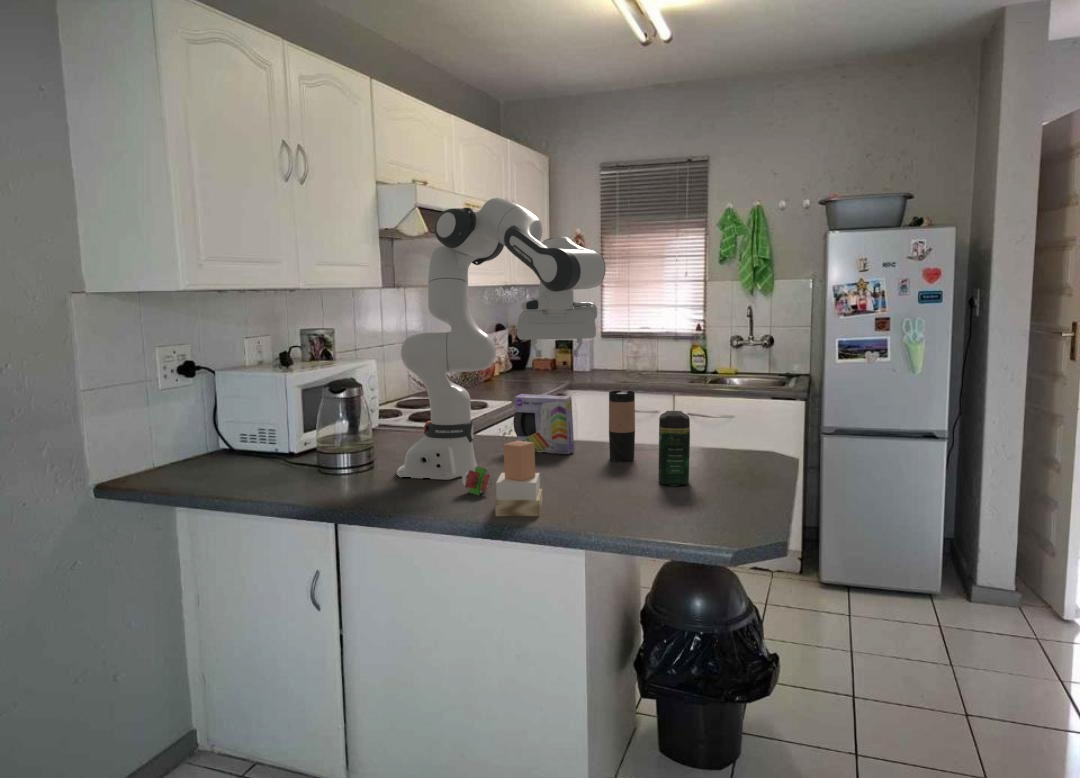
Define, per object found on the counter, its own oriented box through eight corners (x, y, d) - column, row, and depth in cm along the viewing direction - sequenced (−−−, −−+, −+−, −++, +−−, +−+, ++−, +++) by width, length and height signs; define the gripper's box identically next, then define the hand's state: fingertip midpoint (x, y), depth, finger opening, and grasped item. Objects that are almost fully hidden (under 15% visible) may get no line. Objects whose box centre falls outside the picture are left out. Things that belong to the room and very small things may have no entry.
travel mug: (618, 463, 219) (618, 394, 216) (604, 458, 226) (603, 391, 223) (640, 460, 223) (640, 392, 220) (625, 455, 229) (625, 389, 226)
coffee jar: (690, 487, 193) (691, 415, 190) (658, 486, 194) (659, 414, 191) (688, 477, 202) (689, 408, 199) (658, 477, 203) (658, 408, 201)
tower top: (496, 499, 172) (496, 482, 171) (502, 489, 181) (501, 472, 180) (536, 500, 171) (535, 482, 170) (539, 489, 180) (539, 472, 179)
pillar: (504, 478, 175) (503, 444, 174) (518, 473, 179) (517, 440, 178) (521, 481, 172) (520, 446, 171) (535, 476, 176) (534, 442, 175)
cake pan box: (513, 450, 239) (511, 394, 236) (521, 447, 243) (520, 392, 240) (567, 456, 229) (566, 398, 227) (575, 452, 234) (574, 396, 231)
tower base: (495, 517, 172) (495, 500, 171) (500, 504, 182) (500, 488, 181) (539, 517, 171) (539, 500, 171) (542, 504, 181) (542, 488, 180)
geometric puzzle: (485, 478, 196) (469, 457, 192) (502, 483, 191) (486, 461, 187) (468, 499, 193) (452, 478, 189) (485, 504, 188) (468, 483, 184)
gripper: (596, 301, 195) (597, 355, 197) (517, 302, 197) (518, 356, 198) (597, 302, 189) (597, 357, 191) (515, 303, 190) (516, 358, 192)
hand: (557, 356), depth 195 cm, fingers open, 8 cm apart
